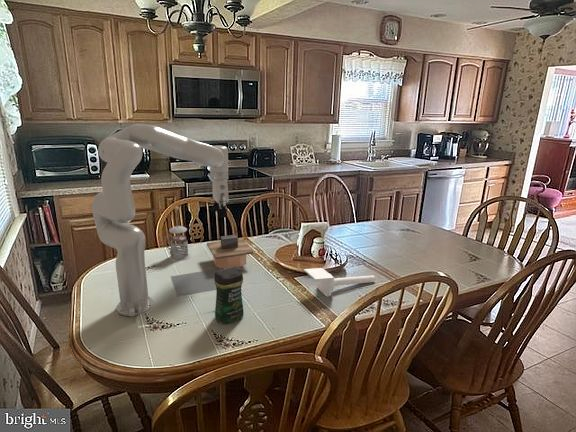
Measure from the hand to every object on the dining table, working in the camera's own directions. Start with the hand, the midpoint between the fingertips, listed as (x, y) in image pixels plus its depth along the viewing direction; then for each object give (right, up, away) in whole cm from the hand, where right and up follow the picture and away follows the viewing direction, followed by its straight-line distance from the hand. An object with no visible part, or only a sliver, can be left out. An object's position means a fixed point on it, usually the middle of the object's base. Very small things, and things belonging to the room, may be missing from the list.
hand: (220, 214), depth 167 cm
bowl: (+3, -23, +10) cm, 25 cm away
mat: (-8, -29, -9) cm, 31 cm away
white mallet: (+52, -31, -10) cm, 61 cm away
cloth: (+3, -16, +8) cm, 18 cm away
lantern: (-23, -21, +15) cm, 34 cm away
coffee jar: (+9, -37, -32) cm, 50 cm away
